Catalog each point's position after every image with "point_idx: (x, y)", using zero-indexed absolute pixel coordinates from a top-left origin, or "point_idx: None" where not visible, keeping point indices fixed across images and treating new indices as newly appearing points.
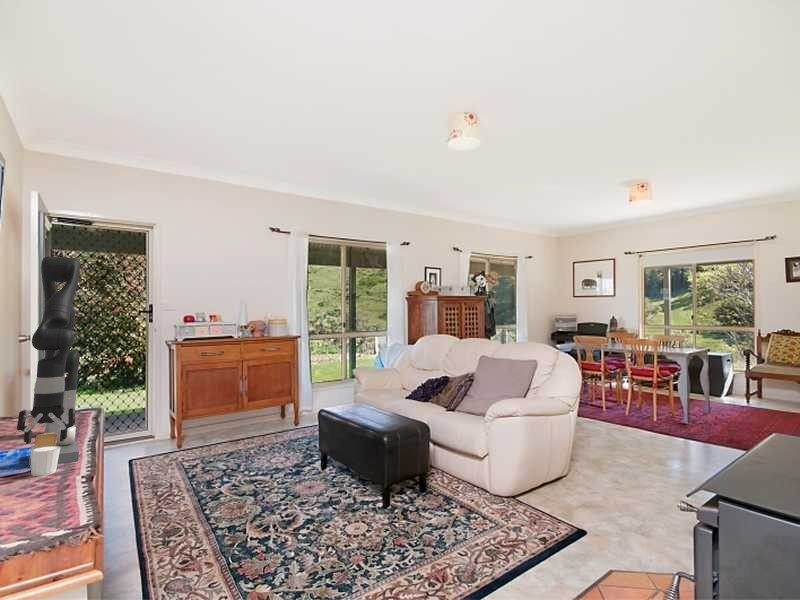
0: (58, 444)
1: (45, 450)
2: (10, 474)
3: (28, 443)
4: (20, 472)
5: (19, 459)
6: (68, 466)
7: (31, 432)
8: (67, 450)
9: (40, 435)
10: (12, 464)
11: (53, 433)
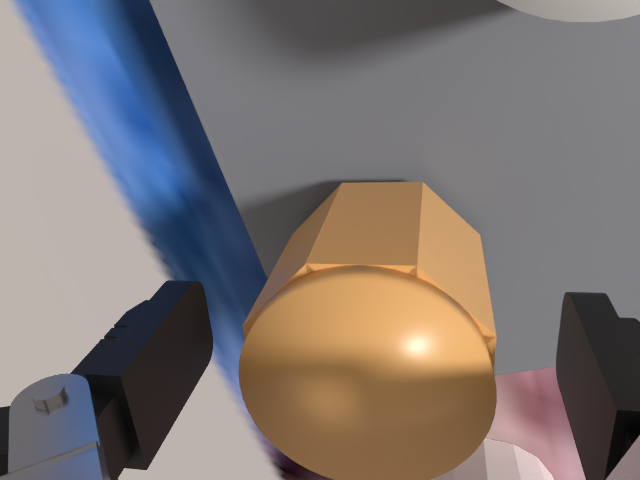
0: None
1: None
2: None
3: (208, 353)
4: None
5: (125, 28)
6: None
7: (138, 381)
8: (615, 249)
9: (299, 419)
10: (160, 196)
11: (449, 351)
